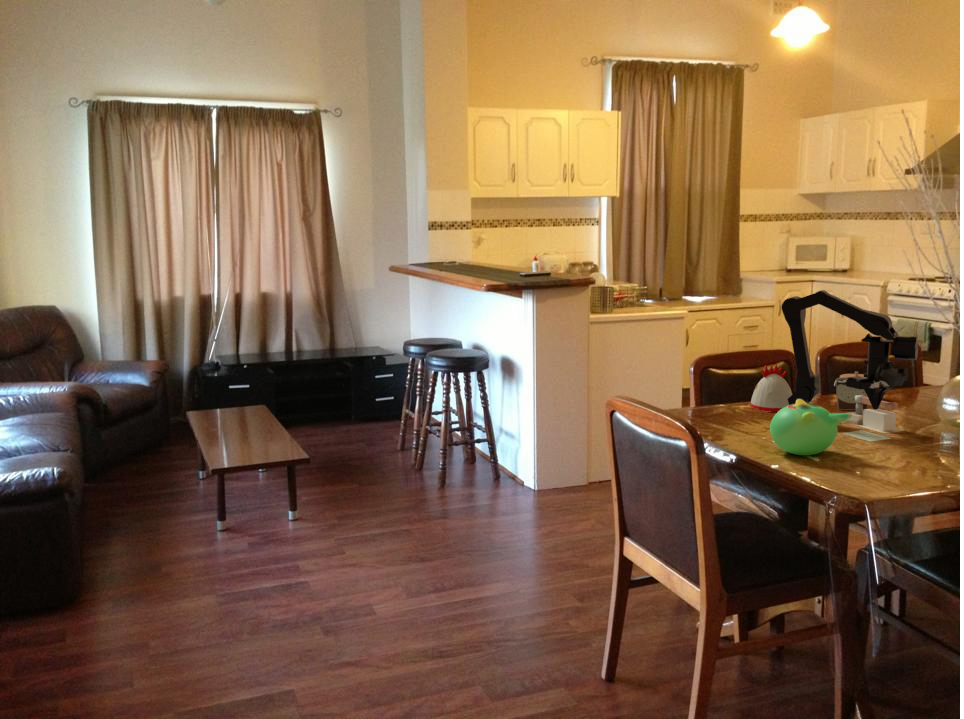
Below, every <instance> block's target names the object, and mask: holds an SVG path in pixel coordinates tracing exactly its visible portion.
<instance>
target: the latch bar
mask: <svg viewBox="0 0 964 719" xmlns="http://www.w3.org/2000/svg"><path fill="white" fill-rule="evenodd" d="M855 402H857V403H863V404H868V406H872V405H871V403H870V401H869V398H868V397H865V396H862V395H856V396H855ZM879 409H883V410H885V411H889V412H890V411H897V410H899V402H889V401H885V400H882V401H881V403H880V405H879Z"/></svg>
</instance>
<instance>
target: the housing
mask: <svg viewBox="0 0 964 719" xmlns="http://www.w3.org/2000/svg"><path fill="white" fill-rule="evenodd" d="M863 412H864V410H863V403H857V402H856V410H855V411H854V412H853V411H852V412H851V411H850V413H851V414H852V416H851V417H850V418H849V419H847V420H845V421H844V422H846V423H849V424H851V425H852V424H853V425H856V426H857V427H860V428H862V429H863V428H864V429H867V430H871V431H875V432H878V433H881V434H890V433H897V432H898V433H899V432H903V431H905V429H901V428H897V427H895V430H888V431H881V430H877V429H874V428H870V427H866V426H863Z"/></svg>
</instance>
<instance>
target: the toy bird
mask: <svg viewBox="0 0 964 719" xmlns="http://www.w3.org/2000/svg"><path fill="white" fill-rule="evenodd" d="M809 403H810V402H809ZM809 403H806V402H805V401H804V400H802V399H797V400H796V403H795V404H792V405H788V406H786V407H784V408H782V409H781V410H779V411H778V412H777V413H774V415H773V417H772V419H771V421H770V423H769V424H770V425H769V432H770V437H771V439H772V441H773V443H774V444H775V445H776V446H777V447H778V448H779V449H780V450H782V451H784V452H786V453H789V454H793V455H796V456H812V455H817V454H819V453H822V452H824V451H825V450H827V449H828V448H829V447H830V446H832V444H833V443H834V442H835V440H836V438H837V436H838V425H839V424H841V423H843V422H845V420H847V419H849V418H850V417H851V416H852V414H851V412H841V413H839V412H838V413H831V411H829V410H827V409H826V408H824V407H823V406H820V405H817V404H814V403H811V404H809Z"/></svg>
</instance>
